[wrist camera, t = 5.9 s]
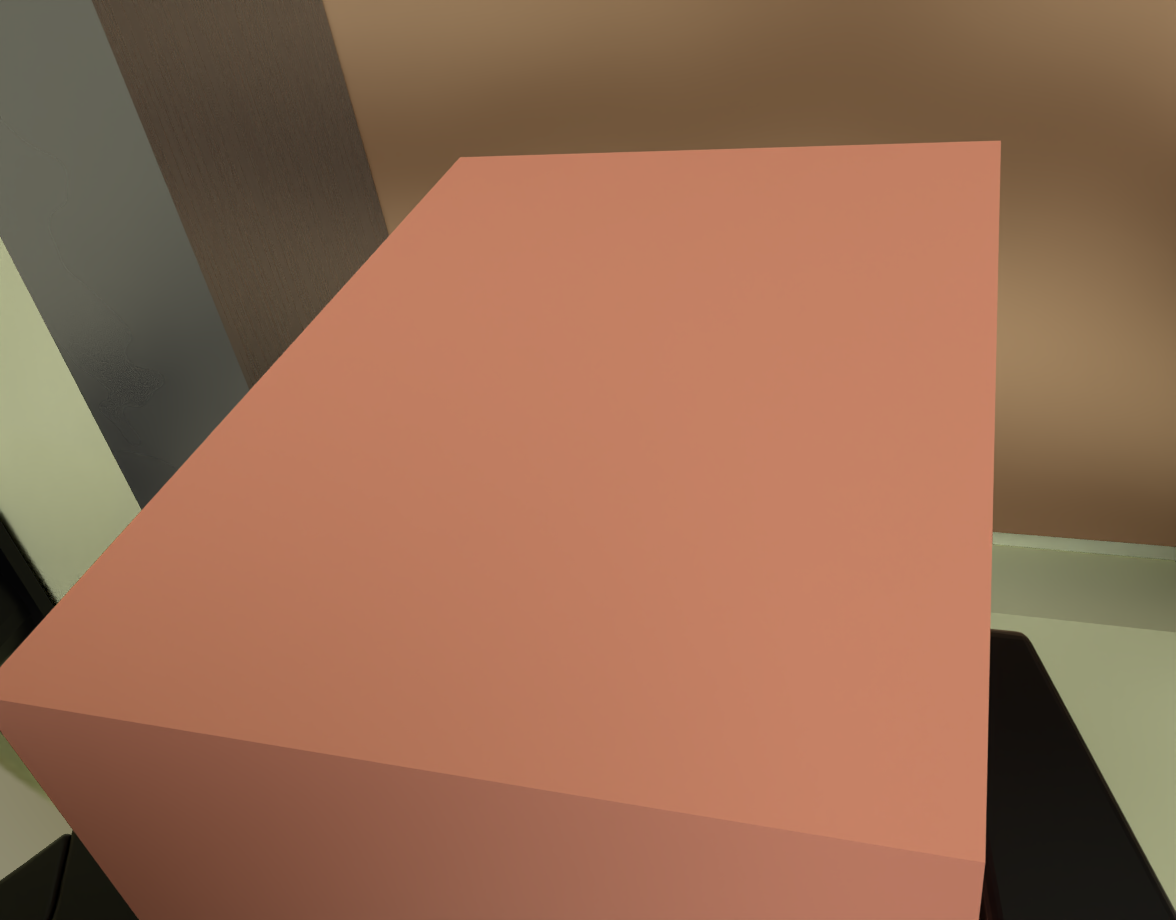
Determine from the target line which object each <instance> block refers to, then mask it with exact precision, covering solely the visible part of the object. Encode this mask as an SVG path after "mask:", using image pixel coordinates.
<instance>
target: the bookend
mask: <svg viewBox="0 0 1176 920" xmlns="http://www.w3.org/2000/svg"><path fill="white" fill-rule="evenodd" d="M0 237H1V239H2V241H3V243H4V245H5V247H6V249H7V250H8V252H9V254H10V256H11V258H12V260H13V262H14V264H15V266H16V268H17V270H18V272H19V274H20V276H21V278H22V279H23V281H24V283H25V285H26V287H27V289H28V291H29V293H30V295H31V297H32V299H33V301H34V303H35V305H36V307H37V308H38V310H39V312H40V314H41V316H42V318H43V320H44V322H45V324H46V326H47V328H48V330H49V332H50V334H51V336H52V337H53V339H54V341H55V343H56V345H57V347H58V349H59V351H60V353H61V355H62V357H63V359H64V361H65V363H66V365H67V366H68V368H69V370H70V372H71V374H72V376H73V378H74V380H75V382H76V384H77V386H78V388H79V390H80V392H81V394H82V395H83V397H84V399H85V401H86V403H87V405H88V407H89V409H90V411H91V413H92V415H93V417H94V419H95V421H96V423H97V424H98V426H99V428H100V430H101V432H102V434H103V436H104V438H105V440H106V442H107V444H108V446H109V448H110V450H111V452H112V453H113V455H114V457H115V459H116V461H117V463H118V465H119V467H120V469H121V471H122V473H123V475H124V477H125V479H126V481H127V482H128V484H129V486H130V488H131V490H132V492H133V494H134V496H135V498H136V500H137V502H138V504H139V506H140V508H141V510H142V509H143V508H144V507H145V506H146V505H147V504H148V503H149V502H150V500H151V499H152V498H153V497H154V496H155V495H156V494H157V493H158V492H159V490H160V489H161V488H162V487H163V486H164V485H165V484H166V483H167V482H168V480H169V479H170V478H171V477H172V476H173V475H174V474H175V473H176V472H177V471H178V469H179V468H180V467H181V466H182V465H183V464H184V463H185V462H186V461H187V459H188V458H189V457H190V456H191V455H192V454H193V453H194V452H195V451H196V449H197V448H198V447H199V446H200V445H201V444H202V443H203V442H204V441H205V439H206V438H207V437H208V436H209V435H210V434H211V433H212V432H213V431H214V429H215V428H216V427H217V426H218V425H219V424H220V423H221V422H222V421H223V420H224V418H225V417H226V416H227V415H228V414H229V413H230V412H231V411H232V410H233V408H234V407H235V406H236V405H237V404H238V403H239V402H240V401H241V400H242V398H243V397H244V396H245V395H246V394H247V393H248V392H249V391H250V390H251V388H252V387H253V386H254V385H255V384H256V383H257V382H258V381H259V380H260V378H261V377H262V376H263V375H264V374H265V373H266V372H267V371H268V370H269V368H270V367H271V366H272V365H273V364H274V363H275V362H276V361H277V360H278V359H279V357H280V356H281V355H282V354H283V353H284V352H285V351H286V350H287V349H288V347H289V346H290V345H291V344H292V343H293V342H294V341H295V340H296V339H297V337H298V336H299V335H300V334H301V333H302V332H303V331H304V330H305V329H306V327H307V326H308V325H309V324H310V323H311V322H312V321H313V320H314V319H315V317H316V316H317V315H318V314H319V313H320V312H321V311H322V310H323V309H324V307H325V306H326V305H327V304H328V303H329V302H330V301H331V300H332V299H333V298H334V296H335V295H336V294H337V293H338V292H339V291H340V290H341V289H342V288H343V286H344V285H345V284H346V283H347V282H348V281H349V280H350V279H351V278H352V276H353V275H354V274H355V273H356V272H357V271H358V270H359V269H360V268H361V266H362V265H363V264H364V263H365V262H366V261H367V260H368V259H369V258H370V256H371V255H372V254H373V253H374V252H375V251H376V250H377V249H378V248H379V247H380V245H381V244H382V243H383V242H384V241H385V240H386V239H387V238H388V237H389V235H388V232H387V228H386V224H385V221H384V217H383V214H382V210H381V207H380V203H379V200H378V196H377V193H376V189H375V186H374V182H373V179H372V175H371V172H370V168H369V165H368V161H367V158H366V154H365V150H364V147H363V143H362V140H361V136H360V133H359V129H358V126H357V122H356V119H355V115H354V112H353V108H352V105H351V101H350V98H349V94H348V91H347V87H346V84H345V80H344V76H343V73H342V69H341V66H340V62H339V59H338V55H337V52H336V48H335V45H334V41H333V38H332V34H331V31H330V27H329V24H328V20H327V17H326V13H325V10H324V6H323V2H322V0H0Z"/></svg>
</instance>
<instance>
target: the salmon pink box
mask: <svg viewBox="0 0 1176 920" xmlns="http://www.w3.org/2000/svg"><path fill="white" fill-rule="evenodd" d="M1000 162H1001V141H970V142H938V143H905V144H873V145H840V146H808V147H775V148H743V149H710V150H678V151H646V152H613V153H581V154H548V155H516V156H483V157H460V158H459V159H458V160H457V161H456V162H455V163H454V164H453V166H452V167H451V168H450V169H449V170H448V171H447V172H446V173H445V174H444V176H443V177H442V178H441V179H440V180H439V181H438V182H437V183H436V184H435V186H434V187H433V188H432V189H431V190H430V191H429V192H428V193H427V194H426V195H425V197H424V198H423V199H422V200H421V201H420V202H419V203H418V204H417V205H416V207H415V208H414V209H413V210H412V211H411V212H410V213H409V214H408V215H407V217H406V218H405V219H404V220H403V221H402V222H401V223H400V224H399V225H398V227H397V228H396V229H395V230H394V231H393V232H392V233H391V234H390V235H389V237H388V238H387V239H386V240H385V241H384V242H383V243H382V244H381V245H380V247H379V248H378V249H377V250H376V251H375V252H374V253H373V254H372V255H371V256H370V258H369V259H368V260H367V261H366V262H365V263H364V264H363V265H362V266H361V268H360V269H359V270H358V271H357V272H356V273H355V274H354V275H353V276H352V278H351V279H350V280H349V281H348V282H347V283H346V284H345V285H344V286H343V288H342V289H341V290H340V291H339V292H338V293H337V294H336V295H335V296H334V298H333V299H332V300H331V301H330V302H329V303H328V304H327V305H326V306H325V307H324V309H323V310H322V311H321V312H320V313H319V314H318V315H317V316H316V317H315V319H314V320H313V321H312V322H311V323H310V324H309V325H308V326H307V327H306V329H305V330H304V331H303V332H302V333H301V334H300V335H299V336H298V337H297V339H296V340H295V341H294V342H293V343H292V344H291V345H290V346H289V347H288V349H287V350H286V351H285V352H284V353H283V354H282V355H281V356H280V357H279V359H278V360H277V361H276V362H275V363H274V364H273V365H272V366H271V367H270V368H269V370H268V371H267V372H266V373H265V374H264V375H263V376H262V377H261V378H260V380H259V381H258V382H257V383H256V384H255V385H254V386H253V387H252V388H251V390H250V391H249V392H248V393H247V394H246V395H245V396H244V397H243V398H242V400H241V401H240V402H239V403H238V404H237V405H236V406H235V407H234V408H233V410H232V411H231V412H230V413H229V414H228V415H227V416H226V417H225V418H224V420H223V421H222V422H221V423H220V424H219V425H218V426H217V427H216V428H215V429H214V431H213V432H212V433H211V434H210V435H209V436H208V437H207V438H206V439H205V441H204V442H203V443H202V444H201V445H200V446H199V447H198V448H197V449H196V451H195V452H194V453H193V454H192V455H191V456H190V457H189V458H188V459H187V461H186V462H185V463H184V464H183V465H182V466H181V467H180V468H179V469H178V471H177V472H176V473H175V474H174V475H173V476H172V477H171V478H170V479H169V480H168V482H167V483H166V484H165V485H164V486H163V487H162V488H161V489H160V490H159V492H158V493H157V494H156V495H155V496H154V497H153V498H152V499H151V500H150V502H149V503H148V504H147V505H146V506H145V507H144V508H143V509H142V510H141V512H140V513H139V514H138V515H137V516H136V517H135V518H134V519H133V520H132V522H131V523H130V524H129V525H128V526H127V527H126V528H125V529H124V530H123V532H122V533H121V534H120V535H119V536H118V537H117V538H116V539H115V540H114V541H113V543H112V544H111V545H110V546H109V547H108V548H107V549H106V550H105V551H104V553H103V554H102V555H101V556H100V557H99V558H98V559H97V560H96V561H95V563H94V564H93V565H92V566H91V567H90V568H89V569H88V570H87V571H86V573H85V574H84V575H83V576H82V577H81V578H80V579H79V580H78V581H77V583H76V584H75V585H74V586H73V587H72V588H71V589H70V590H69V591H68V592H67V594H66V595H65V596H64V597H63V598H62V599H61V600H60V601H59V602H58V604H57V605H56V606H55V607H54V608H53V609H52V610H51V611H50V612H49V614H48V615H47V616H46V617H45V618H44V619H43V620H42V621H41V622H40V624H39V625H38V626H37V627H36V628H35V629H34V630H33V631H32V632H31V634H30V635H29V636H28V637H27V638H26V639H25V640H24V641H23V642H22V644H21V645H20V646H19V647H18V648H17V649H16V650H15V651H14V652H13V653H12V655H11V656H10V657H9V658H8V659H7V660H6V661H5V662H4V663H3V665H2V666H1V667H0V731H1V733H2V734H3V735H4V737H5V738H6V740H7V741H8V742H9V744H10V745H11V746H12V748H13V749H14V750H15V752H16V753H17V754H18V756H19V757H20V759H21V760H22V761H23V763H24V764H25V765H26V767H27V768H28V769H29V771H30V772H31V774H32V775H33V776H34V778H35V779H36V780H37V782H38V783H39V784H40V786H41V787H42V788H43V790H44V791H45V793H46V794H47V795H48V797H49V798H50V799H51V801H52V802H53V803H54V805H55V806H56V808H57V809H58V810H59V812H60V813H61V814H62V816H63V817H64V818H65V820H66V821H67V823H68V824H69V825H70V826H71V828H72V829H73V831H74V832H75V833H76V835H77V836H78V837H79V839H80V840H81V842H82V843H83V844H84V846H85V847H86V848H87V850H88V851H89V852H90V854H91V855H92V857H93V858H94V859H95V861H96V862H97V863H98V865H99V866H100V867H101V869H102V870H103V871H104V873H105V874H106V876H107V877H108V878H109V880H110V881H111V882H112V884H113V885H114V886H115V888H116V889H117V891H118V892H119V893H120V895H121V896H122V897H123V899H124V900H125V901H126V903H127V904H128V905H129V907H130V908H131V910H132V911H133V912H134V914H135V915H136V916H137V918H138V919H139V920H979V913H980V905H981V896H982V887H983V878H984V869H985V852H986V806H987V760H988V714H989V668H990V622H991V576H992V530H993V484H994V438H995V392H996V346H997V300H998V254H999V208H1000Z"/></svg>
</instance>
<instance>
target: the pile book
mask: <svg viewBox="0 0 1176 920" xmlns="http://www.w3.org/2000/svg"><path fill="white" fill-rule="evenodd" d="M990 629H998V630H1008V631H1017V632H1021V633H1023V634H1024V635H1026V636H1027V637H1028V638H1029V640H1030V641H1031V643H1032V644H1033V646H1034V648H1035V650H1036V652H1037V653H1038V655H1039V657H1040V659H1041V661H1042V663H1043V665H1044V667H1045V668H1046V670H1047V672H1048V674H1049V676H1050V678H1051V680H1052V681H1053V683H1054V685H1055V687H1056V689H1057V691H1058V693H1059V694H1060V696H1061V698H1062V700H1063V702H1064V704H1065V706H1066V707H1067V709H1068V711H1069V713H1070V715H1071V717H1072V719H1073V721H1074V722H1075V724H1076V726H1077V728H1078V730H1079V732H1080V734H1081V735H1082V737H1083V739H1084V741H1085V743H1086V745H1087V747H1088V748H1089V750H1090V752H1091V754H1092V756H1093V758H1094V760H1095V761H1096V763H1097V765H1098V767H1099V769H1100V771H1101V773H1102V774H1103V776H1104V778H1105V780H1106V782H1107V784H1108V786H1109V788H1110V789H1111V791H1112V793H1113V795H1114V797H1115V799H1116V801H1117V802H1118V804H1119V806H1120V808H1121V810H1122V812H1123V814H1124V815H1125V817H1126V819H1127V821H1128V823H1129V825H1130V827H1131V828H1132V830H1133V832H1134V834H1135V836H1136V838H1137V840H1138V842H1139V843H1140V845H1141V847H1142V849H1143V851H1144V853H1145V855H1146V856H1147V858H1148V860H1149V862H1150V864H1151V866H1152V868H1153V869H1154V871H1155V873H1156V875H1157V877H1158V879H1159V881H1160V882H1161V884H1162V886H1163V888H1164V890H1165V892H1166V894H1167V896H1168V897H1169V899H1170V901H1171V903H1172V905H1173V907H1174V909H1175V910H1176V561H1174V560H1163V559H1152V558H1141V557H1130V556H1118V555H1107V554H1096V553H1085V552H1073V551H1062V550H1051V549H1040V548H1028V547H1017V546H1006V545H995V544H992V576H991V622H990Z"/></svg>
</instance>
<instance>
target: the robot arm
mask: <svg viewBox="0 0 1176 920" xmlns="http://www.w3.org/2000/svg"><path fill="white" fill-rule="evenodd" d="M53 608H54V606H53V604H52V603H51V601H50V600H49V598H48V596H47V595H46V593H45V592H44V590H43V588H42V587H41V585H40V584H39V582H38V580H37V579H36V577H35V576H34V574H33V572H32V571H31V569H30V568H29V566H28V564H27V563H26V561H25V559H24V558H23V556H22V555H21V553H20V551H19V550H18V548H17V547H16V545H15V543H14V542H13V540H12V539H11V537H10V535H9V534H8V532H7V531H6V529H5V527H4V526H3V524H2V523H1V521H0V667H1V666H2V665H3V663H4V662H5V661H6V660H7V659H8V658H9V657H10V656H11V655H12V653H13V652H14V651H15V650H16V649H17V648H18V647H19V646H20V645H21V644H22V642H23V641H24V640H25V639H26V638H27V637H28V636H29V635H30V634H31V632H32V631H33V630H34V629H35V628H36V627H37V626H38V625H39V624H40V622H41V621H42V620H43V619H44V618H45V617H46V616H47V615H48V614H49V612H50V611H51V610H52V609H53ZM0 920H139V919H138V918H137V916H136V915H135V914H134V912H133V911H132V910H131V908H130V907H129V905H128V904H127V903H126V901H125V900H124V899H123V897H122V896H121V895H120V893H119V892H118V891H117V889H116V888H115V886H114V885H113V884H112V882H111V881H110V880H109V878H108V877H107V876H106V874H105V873H104V871H103V870H102V869H101V867H100V866H99V865H98V863H97V862H96V861H95V859H94V858H93V857H92V855H91V854H90V852H89V851H88V850H87V848H86V847H85V846H84V844H83V843H82V842H81V840H80V839H79V837H78V836H77V835H76V833H75V832H74V831H72V835H70V834H64V835H62V836H61V837H59V838H58V839H57V840H55V841H54V842H53V843H51V844H50V845H49V846H47V847H46V848H45V849H43V850H42V851H40V852H39V853H38V854H36V855H35V856H34V857H32V858H31V859H30V860H28V861H27V862H26V863H24V864H23V865H22V866H20V867H19V868H17V869H16V870H14V871H13V872H12V873H10V874H9V875H7V876H6V877H5V878H3V879H2V880H1V881H0ZM979 920H1176V910H1175V909H1174V907H1173V905H1172V903H1171V901H1170V899H1169V897H1168V896H1167V894H1166V892H1165V890H1164V888H1163V886H1162V884H1161V882H1160V881H1159V879H1158V877H1157V875H1156V873H1155V871H1154V869H1153V868H1152V866H1151V864H1150V862H1149V860H1148V858H1147V856H1146V855H1145V853H1144V851H1143V849H1142V847H1141V845H1140V843H1139V842H1138V840H1137V838H1136V836H1135V834H1134V832H1133V830H1132V828H1131V827H1130V825H1129V823H1128V821H1127V819H1126V817H1125V815H1124V814H1123V812H1122V810H1121V808H1120V806H1119V804H1118V802H1117V801H1116V799H1115V797H1114V795H1113V793H1112V791H1111V789H1110V788H1109V786H1108V784H1107V782H1106V780H1105V778H1104V776H1103V774H1102V773H1101V771H1100V769H1099V767H1098V765H1097V763H1096V761H1095V760H1094V758H1093V756H1092V754H1091V752H1090V750H1089V748H1088V747H1087V745H1086V743H1085V741H1084V739H1083V737H1082V735H1081V734H1080V732H1079V730H1078V728H1077V726H1076V724H1075V722H1074V721H1073V719H1072V717H1071V715H1070V713H1069V711H1068V709H1067V707H1066V706H1065V704H1064V702H1063V700H1062V698H1061V696H1060V694H1059V693H1058V691H1057V689H1056V687H1055V685H1054V683H1053V681H1052V680H1051V678H1050V676H1049V674H1048V672H1047V670H1046V668H1045V667H1044V665H1043V663H1042V661H1041V659H1040V657H1039V655H1038V653H1037V652H1036V650H1035V648H1034V646H1033V644H1032V643H1031V641H1030V640H1029V638H1028V637H1027V636H1026V635H1024V634H1023V633H1021V632H1017V631H1008V630H998V629H990V668H989V714H988V760H987V806H986V852H985V869H984V878H983V887H982V896H981V905H980V913H979Z"/></svg>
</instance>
